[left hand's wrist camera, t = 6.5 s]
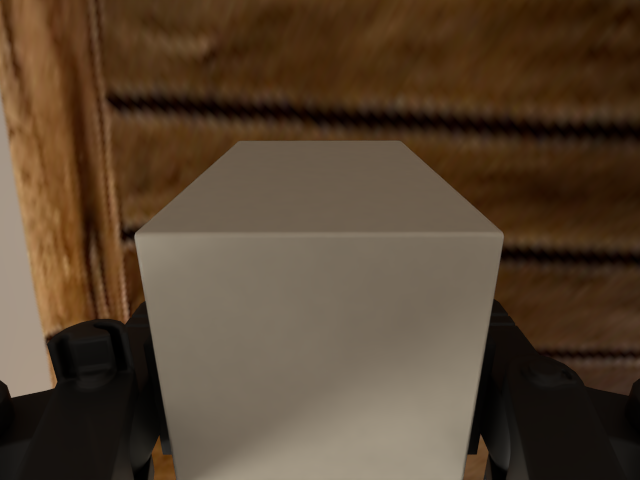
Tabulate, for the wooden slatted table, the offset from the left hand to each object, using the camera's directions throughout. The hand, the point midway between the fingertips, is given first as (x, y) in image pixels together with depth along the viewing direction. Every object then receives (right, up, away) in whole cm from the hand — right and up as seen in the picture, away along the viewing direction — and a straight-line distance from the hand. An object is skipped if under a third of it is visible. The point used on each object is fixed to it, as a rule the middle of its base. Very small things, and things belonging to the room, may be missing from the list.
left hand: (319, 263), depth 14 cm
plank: (0, -8, +4) cm, 9 cm away
